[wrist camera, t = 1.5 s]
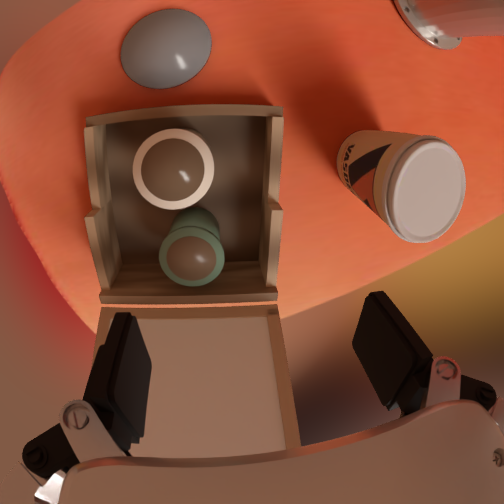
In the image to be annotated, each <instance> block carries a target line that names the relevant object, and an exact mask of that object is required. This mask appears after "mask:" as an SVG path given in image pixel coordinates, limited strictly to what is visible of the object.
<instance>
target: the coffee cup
mask: <svg viewBox="0 0 504 504" xmlns="http://www.w3.org/2000/svg"><path fill="white" fill-rule="evenodd" d="M337 170H338V174H339V177H340V179H341V181H342V182H343V184H344V185H345V186H346V187H347V188H348V189H349V190H350V191H351V192H352V193H353V194H354V195H356V196H357V197H358V198H359V199H360V200H361V201H362V202H363V203H364V204H366V205H367V206H368V207H369V208H370V209H371V210H372V211H373V212H374V213H375V214H377V215H378V216H379V217H380V218H381V219H382V220H383V221H384V222H385V223H386V224H387V225H389V227H390V228H391V230H392V231H393V232H394V233H395V234H396V235H397V236H398V237H400V238H401V239H403V240H405V241H408V242H413V243H426V242H430V241H432V240H435V239H437V238H438V237H440V236H441V235H442V234H444V233H445V232H446V231H447V230H448V229H449V228H450V227H451V225H452V224H453V223H454V221H455V219H456V218H457V216H458V214H459V212H460V210H461V207H462V204H463V200H464V196H465V187H466V179H465V171H464V168H463V164H462V161H461V159H460V157H459V156H458V154H457V153H456V151H455V150H454V149H453V148H452V147H451V146H450V145H449V144H448V143H447V142H446V141H444V140H443V139H441V138H438V137H436V136H430V135H423V136H421V135H415V134H408V133H400V132H390V131H378V130H361V131H357V132H355V133H353V134H351V135H350V136H349V137H347V138H346V140H345V141H344V142H343V143H342V145H341V147H340V149H339V152H338V156H337Z"/></svg>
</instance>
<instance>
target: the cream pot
mask: <svg viewBox="0 0 504 504" xmlns="http://www.w3.org/2000/svg"><path fill="white" fill-rule="evenodd" d="M213 176H214V160H213V156H212V153H211V148H210V145H209V143H208V141H207V140H206V138H205V137H204V136H203V135H202V134H201V133H199V132H197V131H195V130H193V129H188V128H180V129H167V130H163V131H160V132H157V133H155V134H153V135H152V136H150V137H149V138H148V139H146V140H145V141H144V142H143V143H142V145H141V146H140V147H139V149H138V151H137V153H136V155H135V158H134V162H133V178H134V182H135V185H136V187H137V189H138V190H139V192H140V193H141V195H142V196H143V197H144V198H145V199H146V200H147V201H149V202H150V203H151V204H153V205H155V206H157V207H160V208H164V209H173V210H175V209H182V208H186V207H188V206H191V205H193V204H194V203H196V202H197V201H199V200H200V199H201V198H202V197H203V196H204V195H205V194H206V192H207V191H208V189H209V187H210V185H211V183H212V180H213Z"/></svg>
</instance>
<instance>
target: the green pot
mask: <svg viewBox="0 0 504 504" xmlns="http://www.w3.org/2000/svg"><path fill="white" fill-rule="evenodd" d="M159 262H160V265H161V268H162V270H163V271H164V273H165V274H166V275H167V276H168V277H169V278H170V279H171V280H173V281H174V282H176V283H178V284H181V285H185V286H201V285H204V284H207V283H209V282H211V281H213V280H214V279H215V278H216V277H217V276H218V275H219V274H220V272H221V270H222V268H223V266H224V250H223V246H222V244H221V242H220V229H219V223H218V221H217V219H216V217H215V216H214V215H213V214H212V213H211V212H209V211H208V210H206V209H203V208H199V207H191V208H187V209H184V210H182V211H181V212H180V213H178V214H177V216H176V217H175V218H174V220H173V222H172V225H171V228H170V231H169V234H168V235H167V236H166V238H165V239H164V240H163V242H162V245H161V247H160V251H159Z"/></svg>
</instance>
